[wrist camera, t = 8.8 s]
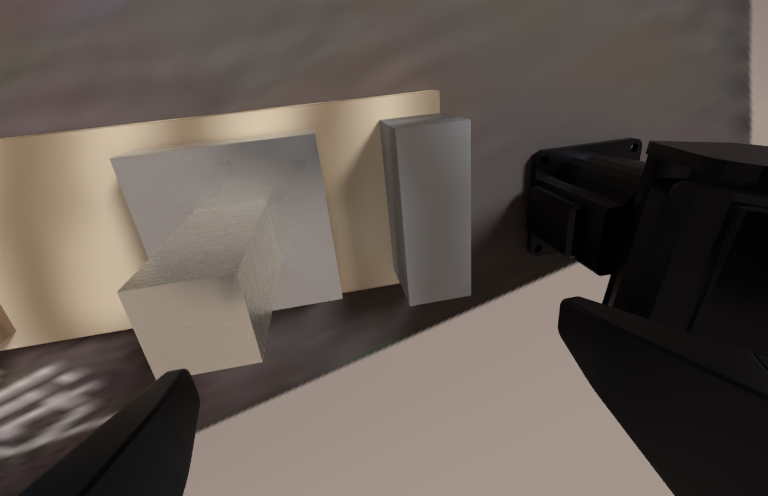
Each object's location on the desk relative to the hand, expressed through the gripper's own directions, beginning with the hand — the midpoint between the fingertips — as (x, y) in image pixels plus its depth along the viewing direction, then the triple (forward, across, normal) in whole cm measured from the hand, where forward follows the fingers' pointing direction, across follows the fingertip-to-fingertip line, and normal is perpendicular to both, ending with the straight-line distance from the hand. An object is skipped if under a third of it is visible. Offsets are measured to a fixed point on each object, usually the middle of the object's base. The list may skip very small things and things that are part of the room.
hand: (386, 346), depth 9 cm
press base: (+13, +7, 0) cm, 15 cm away
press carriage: (+11, +5, 0) cm, 12 cm away
